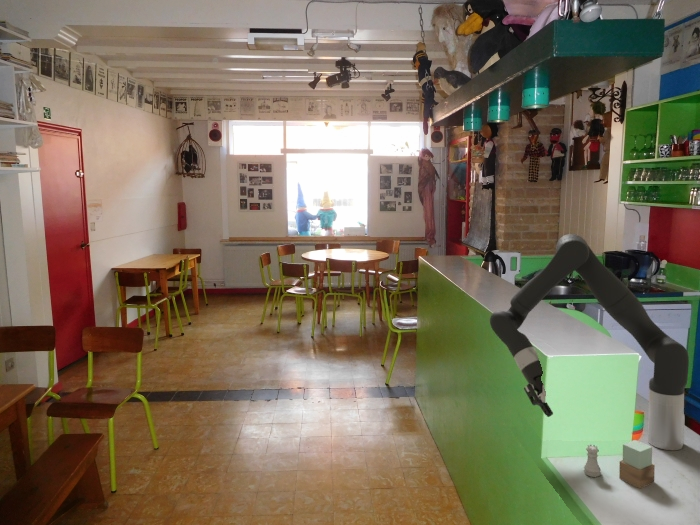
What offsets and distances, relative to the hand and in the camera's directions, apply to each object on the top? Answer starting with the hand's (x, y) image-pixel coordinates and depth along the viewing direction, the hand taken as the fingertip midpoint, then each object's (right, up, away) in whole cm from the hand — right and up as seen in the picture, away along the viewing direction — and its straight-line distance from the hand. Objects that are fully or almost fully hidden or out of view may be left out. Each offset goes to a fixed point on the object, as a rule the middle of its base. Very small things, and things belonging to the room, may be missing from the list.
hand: (561, 412), depth 155 cm
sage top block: (+15, -10, -13) cm, 23 cm away
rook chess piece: (+6, -15, -8) cm, 18 cm away
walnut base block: (+16, -15, -12) cm, 25 cm away
